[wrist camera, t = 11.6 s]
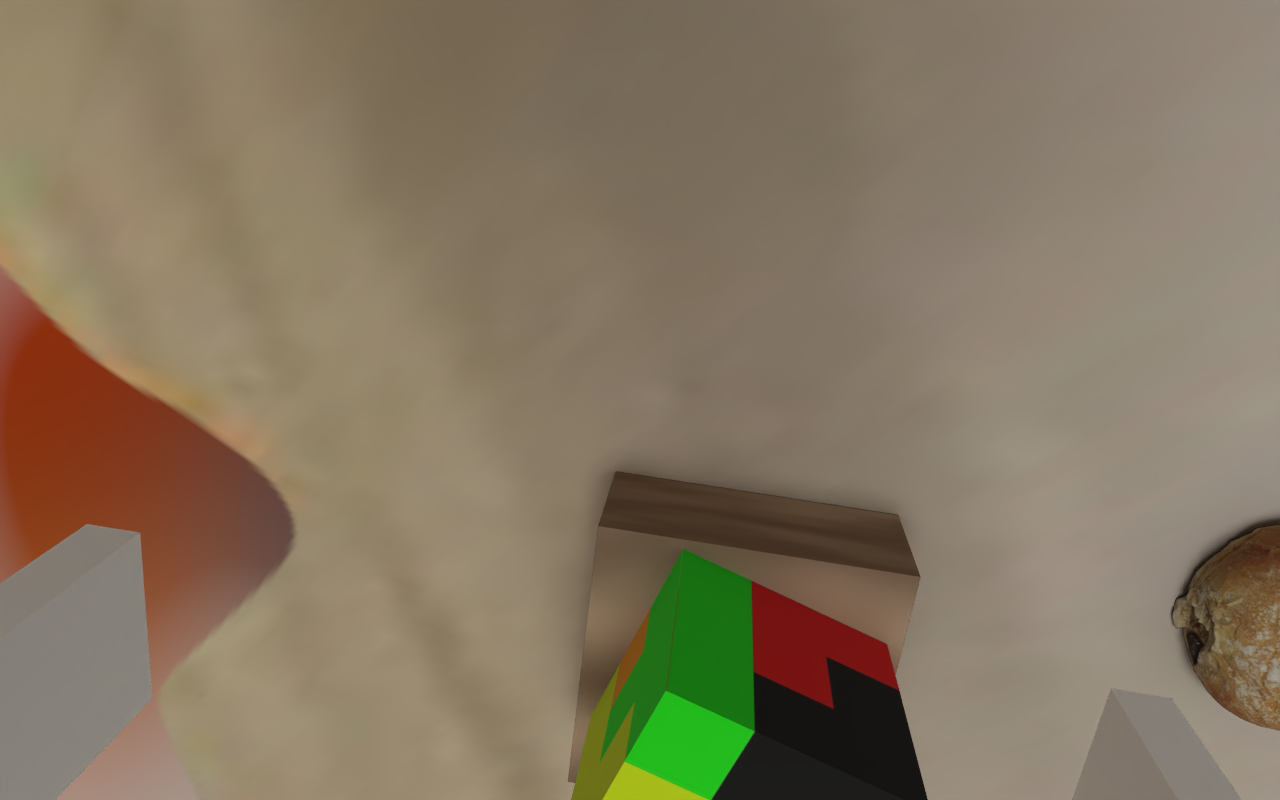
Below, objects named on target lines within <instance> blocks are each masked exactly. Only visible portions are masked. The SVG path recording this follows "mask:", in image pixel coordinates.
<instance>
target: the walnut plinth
mask: <svg viewBox="0 0 1280 800" xmlns="http://www.w3.org/2000/svg"><path fill="white" fill-rule="evenodd" d="M683 549H685V550H687V551H689V552H692V553H694V554H696V555H698V556H700V557H702V558H704V559H707V560H709V561H711V562H713V563H715V564H717V565H719V566H721V567H724V568H726V569H728V570H730V571H732V572H734V573H736V574H739V575H741V576H743V577H745V578H747V579H749V580H751V581H753V582H756V583H758V584H760V585H762V586H764V587H766V588H768V589H771V590H773V591H775V592H777V593H779V594H781V595H783V596H786V597H788V598H790V599H792V600H794V601H796V602H798V603H800V604H803V605H805V606H807V607H809V608H811V609H813V610H815V611H818V612H820V613H822V614H824V615H826V616H828V617H830V618H833V619H835V620H837V621H839V622H841V623H843V624H845V625H847V626H850V627H852V628H854V629H856V630H858V631H860V632H862V633H865V634H867V635H869V636H871V637H873V638H875V639H877V640H879V641H882V642H884V643H886V644H887V645H888V649H889V653H890V657H891V661H892V665H893V668H894V672H895V675H896V671H897V667H898V663H899V659H900V655H901V651H902V647H903V644H904V640H905V636H906V632H907V628H908V624H909V620H910V616H911V612H912V608H913V604H914V601H915V597H916V593H917V589H918V585H919V581H920V574H919V571H918V569H917V566H916V563H915V560H914V558H913V555H912V552H911V549H910V547H909V544H908V541H907V538H906V536H905V533H904V530H903V527H902V525H901V522H900V519H899V516H898V515H893V514H887V513H881V512H874V511H868V510H861V509H855V508H848V507H842V506H835V505H829V504H822V503H816V502H809V501H803V500H796V499H790V498H784V497H777V496H771V495H764V494H758V493H751V492H745V491H738V490H732V489H725V488H719V487H712V486H706V485H699V484H693V483H687V482H680V481H674V480H667V479H661V478H654V477H648V476H641V475H635V474H628V473H622V472H615V475H614V479H613V482H612V485H611V488H610V491H609V494H608V497H607V501H606V504H605V507H604V510H603V513H602V516H601V519H600V522H599V526H598V533H597V542H596V550H595V558H594V567H593V575H592V583H591V592H590V600H589V609H588V617H587V625H586V634H585V642H584V650H583V659H582V667H581V675H580V684H579V692H578V701H577V709H576V717H575V726H574V734H573V742H572V751H571V759H570V768H569V776H568V782H573V783H575V782H576V777H577V773H578V769H579V765H580V760H581V756H582V752H583V748H584V743H585V739H586V735H587V731H588V726H589V722H590V718H591V715H592V713H593V711H594V709H595V708H596V706H597V704H598V702H599V700H600V699H601V697H602V695H603V693H604V691H605V690H606V688H607V686H608V684H609V682H610V680H611V679H612V677H613V675H614V673H615V671H616V670H617V668H618V666H619V664H620V662H621V661H622V659H623V657H624V655H625V653H626V651H627V650H628V648H629V646H630V644H631V642H632V641H633V639H634V637H635V635H636V633H637V632H638V630H639V628H640V626H641V624H642V623H643V621H644V619H645V617H646V615H647V613H648V612H649V610H650V608H651V606H652V604H653V603H654V601H655V599H656V597H657V595H658V594H659V592H660V590H661V588H662V586H663V584H664V583H665V581H666V579H667V577H668V575H669V574H670V572H671V570H672V568H673V566H674V565H675V563H676V561H677V559H678V557H679V556H680V554H681V552H682V550H683Z"/></svg>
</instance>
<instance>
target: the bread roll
mask: <svg viewBox="0 0 1280 800" xmlns="http://www.w3.org/2000/svg"><path fill="white" fill-rule="evenodd" d="M1172 617H1173V622H1174V626H1175V628H1182V627H1183V635H1184V639H1185V642H1186V645H1187V649H1188V653H1189V656H1190V658H1191V663H1192V665H1193V667H1194V672H1195V673H1196V674H1197V676H1198V678H1199V679H1200V681H1201V682H1202V684H1203V685H1204V687H1205V689H1206V690H1207V692H1208V693H1209V694H1210V695H1211V696H1212V697H1213V698H1214V699H1215V700H1216V701H1217V702H1218V703H1219V704H1220V705H1221V706H1222V707H1224V708H1225V709H1227V710H1228V711H1230V712H1231V713H1233V714H1234V715H1236V716H1238V717H1239V718H1241V719H1243V720H1245V721H1248V722H1250V723H1253V724H1256V725H1258V726H1261V727H1266V728H1271V729H1275V730H1279V731H1280V525H1276V526H1268V527H1263V528H1258V529H1255V530H1254V531H1253V532H1252V533H1250V534H1248V535H1244V536H1243V537H1241V538H1239V539H1236V540H1233V541H1231V542H1230V544H1229V545H1227V546H1226V547H1225V548H1224V549H1223V550H1222V551H1221V552H1219V553H1217V554H1216V555H1214V556H1213V557H1212V558H1211V559H1210V560H1208V561H1207V562H1206V563H1205V564H1204V565H1203V566H1202V567H1201V568H1200V569H1199V570H1198V571H1197V572H1196V573H1195V575H1194V577H1193V578H1192V580H1191V583H1190V586H1189V591H1188V594H1187V595H1185V596H1184V597H1182V598H1180V599H1176V602H1175V605H1174V610H1173V614H1172Z"/></svg>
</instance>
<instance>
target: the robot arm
mask: <svg viewBox="0 0 1280 800" xmlns="http://www.w3.org/2000/svg"><path fill="white" fill-rule="evenodd" d="M141 554H142V553H141V540H140V533H138V532H132V531H125V530H120V529H113V528H107V527H101V526H94V525H89V524H87V525H85V526H84V527H82V528H81V529H79V530H78V531H76V532H75V533H73V534H72V535H70V536H69V537H67V538H66V539H65V540H63V541H62V542H60V543H59V544H58V545H56V546H54V547H53V548H51V549H50V550H48V551H47V552H46V553H44V554H43V555H41V556H40V557H38V558H37V559H35V560H34V561H32V562H31V563H29V564H28V565H27V566H25V567H24V568H22V569H21V570H19V571H18V572H16V573H15V574H13V575H12V576H11V577H9V578H7V579H6V580H5V581H3V582H2V583H0V800H56V799H57V798H58V797H59V796H60V795H61V794H62V793H63V791H64V790H65V789H66V788H67V787H68V786H69V785H70V784H71V783H72V782H73V781H74V780H75V779H76V778H77V777H78V776H79V775H80V774H81V772H83V770H84V769H85V768H86V767H87V766H88V765H89V764H90V763H91V762H92V761H93V760H94V759H95V758H96V757H97V756H98V755H99V753H101V751H102V750H103V749H104V748H105V747H106V746H107V745H108V744H109V743H110V742H111V741H112V740H113V739H114V738H115V737H116V736H117V735H118V734H119V732H120V731H121V730H122V729H123V728H124V727H125V726H126V725H127V724H128V723H129V722H130V721H131V720H132V719H133V718H134V717H135V716H136V715H137V714H138V713H139V711H140V710H141V709H142V708H143V707H144V706H145V705H146V704H147V703H148V702H149V701H150V700H151V699H152V689H151V676H150V662H149V649H148V635H147V622H146V609H145V594H144V581H143V568H142V555H141ZM1072 800H1241V798H1240V797H1239V795H1238V794H1237V792H1236V791H1235V790H1234V788H1233V787H1232V785H1231V784H1230V782H1229V781H1228V779H1227V778H1226V777H1225V775H1224V774H1223V772H1222V771H1221V769H1220V768H1219V766H1218V765H1217V763H1216V762H1215V761H1214V759H1213V758H1212V756H1211V755H1210V753H1209V752H1208V750H1207V749H1206V748H1205V746H1204V745H1203V743H1202V742H1201V740H1200V739H1199V737H1198V736H1197V734H1196V733H1195V732H1194V730H1193V729H1192V727H1191V726H1190V724H1189V723H1188V721H1187V720H1186V719H1185V717H1184V716H1183V714H1182V713H1181V711H1180V710H1179V708H1178V707H1177V706H1176V704H1175V703H1174V701H1173V700H1172V698H1167V697H1161V696H1154V695H1148V694H1142V693H1136V692H1129V691H1123V690H1117V689H1111V690H1110V693H1109V696H1108V699H1107V701H1106V704H1105V707H1104V710H1103V713H1102V716H1101V719H1100V721H1099V724H1098V727H1097V730H1096V733H1095V736H1094V739H1093V742H1092V744H1091V747H1090V750H1089V753H1088V756H1087V759H1086V762H1085V764H1084V767H1083V770H1082V773H1081V776H1080V779H1079V782H1078V785H1077V787H1076V790H1075V793H1074V796H1073V799H1072Z"/></svg>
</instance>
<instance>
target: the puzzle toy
mask: <svg viewBox="0 0 1280 800" xmlns="http://www.w3.org/2000/svg"><path fill="white" fill-rule="evenodd" d="M571 800H928V799H927V796H926V792H925V788H924V784H923V780H922V776H921V772H920V769H919V765H918V761H917V757H916V753H915V749H914V746H913V742H912V738H911V734H910V730H909V726H908V722H907V719H906V715H905V711H904V707H903V703H902V699H901V695H900V692H899V688H898V684H897V680H896V676H895V672H894V668H893V665H892V661H891V657H890V653H889V649H888V645H887V644H886V643H884V642H882V641H879V640H877V639H875V638H873V637H871V636H869V635H867V634H865V633H862V632H860V631H858V630H856V629H854V628H852V627H850V626H847V625H845V624H843V623H841V622H839V621H837V620H835V619H833V618H830V617H828V616H826V615H824V614H822V613H820V612H818V611H815V610H813V609H811V608H809V607H807V606H805V605H803V604H800V603H798V602H796V601H794V600H792V599H790V598H788V597H786V596H783V595H781V594H779V593H777V592H775V591H773V590H771V589H768V588H766V587H764V586H762V585H760V584H758V583H756V582H753V581H751V580H749V579H747V578H745V577H743V576H741V575H739V574H736V573H734V572H732V571H730V570H728V569H726V568H724V567H721V566H719V565H717V564H715V563H713V562H711V561H709V560H707V559H704V558H702V557H700V556H698V555H696V554H694V553H692V552H689V551H687V550H685V549H683V550H682V552H681V554H680V556H679V557H678V559H677V561H676V563H675V565H674V566H673V568H672V570H671V572H670V574H669V575H668V577H667V579H666V581H665V583H664V584H663V586H662V588H661V590H660V592H659V594H658V595H657V597H656V599H655V601H654V603H653V604H652V606H651V608H650V610H649V612H648V613H647V615H646V617H645V619H644V621H643V623H642V624H641V626H640V628H639V630H638V632H637V633H636V635H635V637H634V639H633V641H632V642H631V644H630V646H629V648H628V650H627V651H626V653H625V655H624V657H623V659H622V661H621V662H620V664H619V666H618V668H617V670H616V671H615V673H614V675H613V677H612V679H611V680H610V682H609V684H608V686H607V688H606V690H605V691H604V693H603V695H602V697H601V699H600V700H599V702H598V704H597V706H596V708H595V709H594V711H593V713H592V715H591V718H590V722H589V726H588V731H587V735H586V739H585V743H584V748H583V752H582V756H581V760H580V765H579V769H578V773H577V777H576V782H575V786H574V790H573V794H572V799H571Z"/></svg>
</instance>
